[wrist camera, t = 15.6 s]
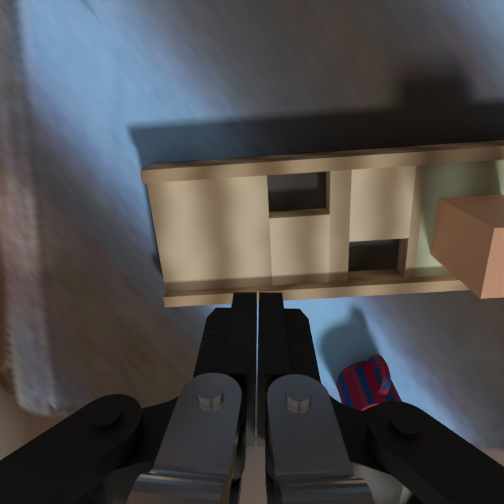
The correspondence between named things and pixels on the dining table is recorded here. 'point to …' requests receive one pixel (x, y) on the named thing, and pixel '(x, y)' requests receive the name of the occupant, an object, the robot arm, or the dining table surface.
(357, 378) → the mug
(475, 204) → the terracotta block
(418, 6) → the dining table surface
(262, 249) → the tray
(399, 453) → the robot arm
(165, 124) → the dining table surface
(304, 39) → the dining table surface
